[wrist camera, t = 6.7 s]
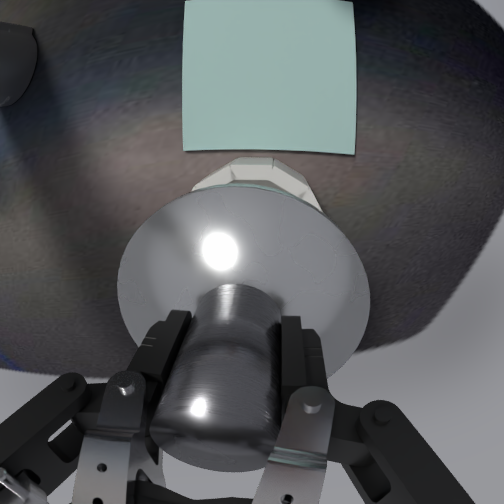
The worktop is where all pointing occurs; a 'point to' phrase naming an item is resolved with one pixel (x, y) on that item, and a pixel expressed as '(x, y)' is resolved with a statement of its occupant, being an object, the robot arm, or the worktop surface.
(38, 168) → the worktop surface
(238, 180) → the dish
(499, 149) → the worktop surface
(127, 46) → the worktop surface
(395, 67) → the worktop surface
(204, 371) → the lid
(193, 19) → the mat
